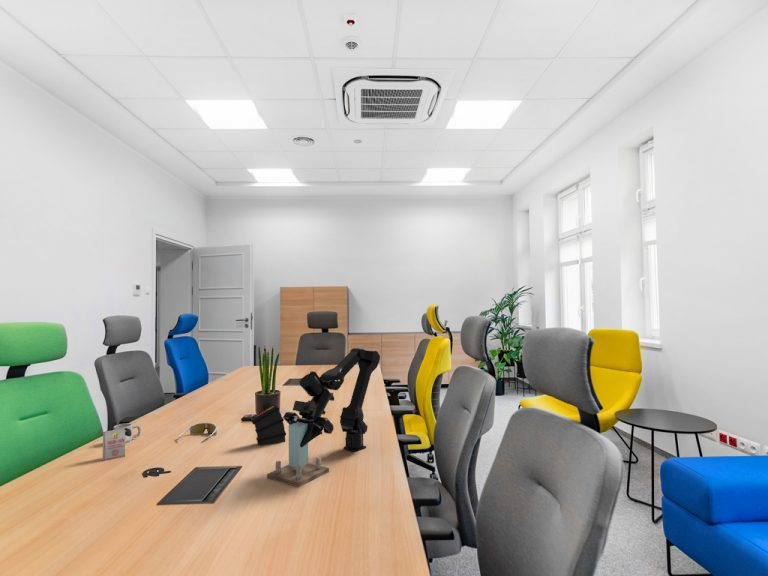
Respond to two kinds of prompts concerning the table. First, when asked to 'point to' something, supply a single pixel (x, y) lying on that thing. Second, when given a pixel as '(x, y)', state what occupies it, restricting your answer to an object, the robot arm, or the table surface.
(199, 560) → the table surface
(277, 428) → the black ridged slab
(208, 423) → the sunglasses
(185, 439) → the table surface
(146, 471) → the black flat pronged piece
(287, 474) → the pin stand
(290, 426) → the block
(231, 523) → the table surface
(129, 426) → the mug
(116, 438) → the small printed box
